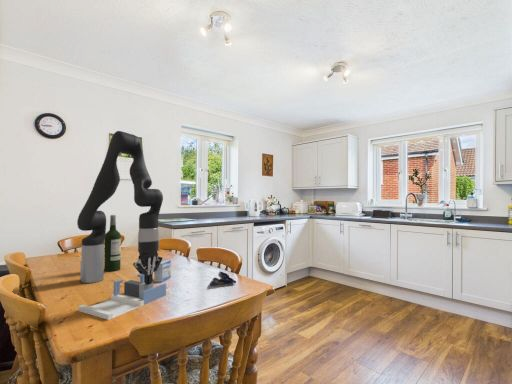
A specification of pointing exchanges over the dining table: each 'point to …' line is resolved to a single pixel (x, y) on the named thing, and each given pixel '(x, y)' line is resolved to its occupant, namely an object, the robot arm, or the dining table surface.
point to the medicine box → (163, 271)
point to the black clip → (222, 279)
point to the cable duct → (123, 301)
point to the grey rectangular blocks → (135, 288)
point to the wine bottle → (112, 247)
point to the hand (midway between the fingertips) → (148, 283)
